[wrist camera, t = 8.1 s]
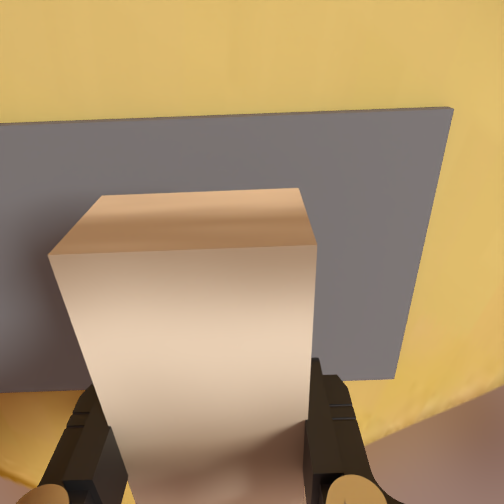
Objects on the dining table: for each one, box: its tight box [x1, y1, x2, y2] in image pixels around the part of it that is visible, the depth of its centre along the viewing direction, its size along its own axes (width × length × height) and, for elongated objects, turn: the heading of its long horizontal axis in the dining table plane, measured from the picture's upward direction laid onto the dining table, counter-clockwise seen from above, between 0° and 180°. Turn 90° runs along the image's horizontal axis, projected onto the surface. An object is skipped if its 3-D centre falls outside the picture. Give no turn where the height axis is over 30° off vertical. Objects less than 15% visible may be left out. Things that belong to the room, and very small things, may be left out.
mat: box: [0, 107, 454, 393], centre depth 17 cm, size 22×14×1 cm, turn 92°
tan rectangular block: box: [48, 188, 317, 504], centre depth 11 cm, size 12×5×3 cm, turn 2°
